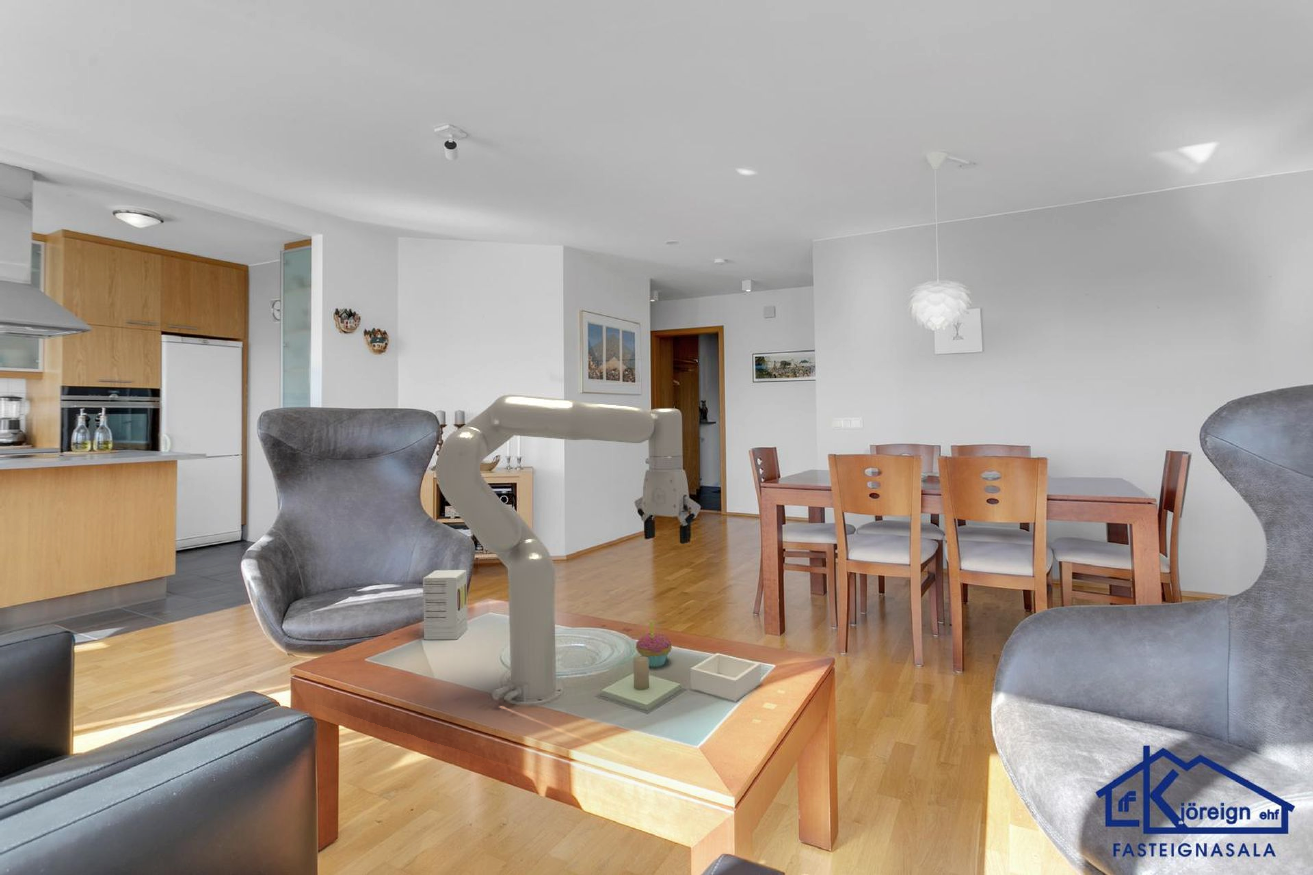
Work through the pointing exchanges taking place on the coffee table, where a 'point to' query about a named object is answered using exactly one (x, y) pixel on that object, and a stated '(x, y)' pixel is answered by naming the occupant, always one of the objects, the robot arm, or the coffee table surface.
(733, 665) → the white square box
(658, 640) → the cupcake
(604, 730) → the coffee table surface
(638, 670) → the lid
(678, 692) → the mat
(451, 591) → the supplement box
